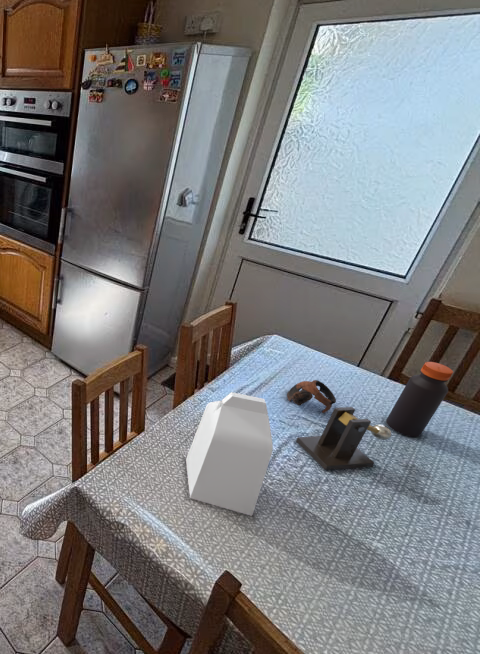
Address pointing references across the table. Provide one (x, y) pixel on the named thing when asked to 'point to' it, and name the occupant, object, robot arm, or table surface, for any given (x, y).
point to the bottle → (420, 400)
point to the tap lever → (376, 430)
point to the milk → (230, 453)
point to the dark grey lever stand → (338, 443)
